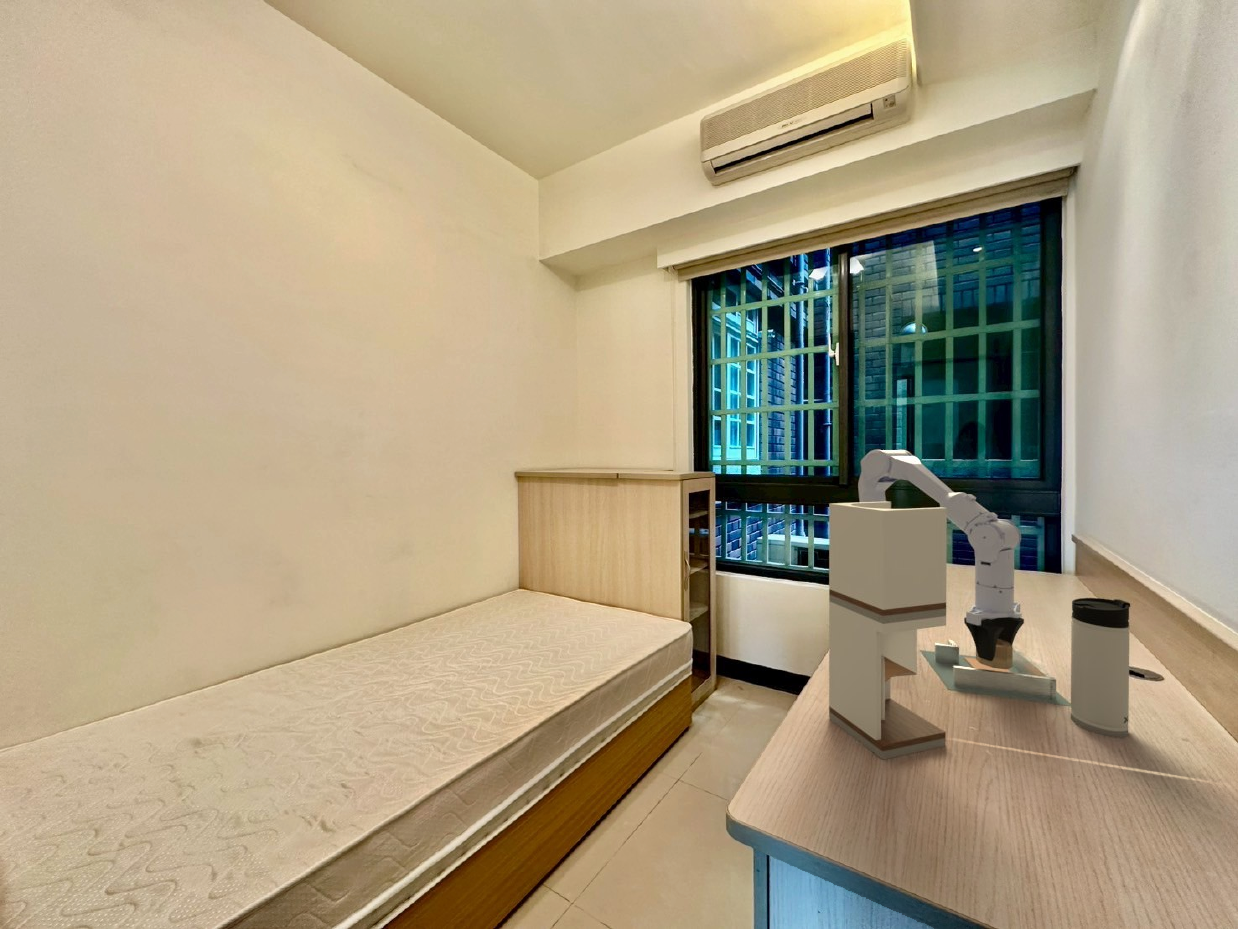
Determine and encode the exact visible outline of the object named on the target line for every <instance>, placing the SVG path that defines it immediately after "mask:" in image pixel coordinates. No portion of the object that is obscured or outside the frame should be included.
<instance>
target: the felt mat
mask: <svg viewBox="0 0 1238 929" xmlns="http://www.w3.org/2000/svg"><path fill="white" fill-rule="evenodd" d="M919 651H920V653H921V654H922V655H923V657H924V658H925V660H926V661H927V663H928V664H929V666H930V667H931V668H932V669H933V671H934V672H935V674H936V676H938V678H939V679H940V681H941V682H942V683H943V685H944V686H945V688H946V689H947V690H948V691H955V692H961V693H967V694H968V693H969V694H975V695H976V694H977V695H982V696H990V697H999V698H1006V699H1015V700H1019V701H1020V700H1021V701H1028V702H1033V703H1034V702H1037V703H1043V704H1049V705H1058V706H1064V707H1071V701H1070V702H1069V700H1067V699H1066V698H1065V697H1064V696H1063V695H1061V693H1059V692H1058V691H1057V690H1056V700H1053V699H1045V698H1038V697H1030V696H1023V695H1015V694H1008V693H1000V692H993V691H985V690H978V689H970V688H963V687H955V686H954V685H953V666H961V667H969V668H972V667H971V666H970V664H969V663H968V662H967V661H966V660H965V659H964V657H966V658H975V659H976V655H965V654H959V664H951V663H943V662H936V661H935V651H931V650H923V649H920V650H919ZM1008 670H1009V671H1010V672H1011V673H1019V674H1022V673H1021V672H1019V671H1018V670H1017V669H1016V668H1015V667H1014V666H1013V665H1012V668H1009V669H1008Z"/></svg>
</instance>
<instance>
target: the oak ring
mask: <svg viewBox="0 0 1238 929" xmlns="http://www.w3.org/2000/svg"><path fill="white" fill-rule="evenodd" d="M1013 646H1014V645H1013V644H1012V645H1011V644H1010V643H1009V642H1007V641H1004V640H1001V639H998V640H997V643H996V649H995V656H994V659H993V661H988V660H985V659H982V658H979V656H978V653H977V650H976V649H975V656H976V660H977V661H978V662H979V663H981V664H983V665H986V666H989V667H992V668H999V669H1009V668H1012V663H1013Z"/></svg>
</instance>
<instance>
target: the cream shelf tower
mask: <svg viewBox="0 0 1238 929" xmlns="http://www.w3.org/2000/svg"><path fill="white" fill-rule="evenodd" d="M828 511H829V513H828V514H829V515H828V518H829V520H828V522H829V527H828V528H829V530H828V531H829V532H828V533H829V534H828V538H829V539H828V542H829V543H828V548H829V549H828V551H829V556H828V559H829V561H828V563H829V564H828V566H829V568H828V570H829V571H828V572H829V573H828V576H829V577H828V578H829V579H828V580H829V581H828V585H829V586H828V588H829V589H828V593H829V594H828V595H829V598H828V603H829V604H828V606H829V607H828V608H829V610H828V615H829V616H828V621H829V622H828V623H829V625H828V628H829V630H828V632H829V635H828V651H829V652H828V657H829V658H828V660H829V661H828V665H829V666H828V668H829V669H828V672H829V673H828V674H829V675H828V676H829V677H828V691H829V692H828V706H829V707H828V719H829V718H830V719H831V720H830V719H829V720H830V721H831V722H833V721H834V722H835V723H834V722H833V723H834V724H836V726H838V727H839V726H840V729H842V730H843V729H844V730H843V731H844V732H846V731H847V732H848V733H847V732H846V733H847V734H849V735H850V736H851V737H852V736H853V738H854V739H855V740H857V742H859V741H860V742H861V743H862V744H861V743H860V742H859V743H860V744H861V745H863V746H864V747H865V746H866V749H867V750H870V751H871V752H872V753H873V752H874V753H875V754H874V753H873V754H874V755H876V756H877V757H879V758H880V759H881V760H883V759H884V760H888V759H891V758H897V757H901V756H905V755H906V756H907V755H910V754H915V753H919V752H924V751H928V750H929V751H930V750H933V749H937V748H943V747H946V744H947V743H946V740H947V739H946V738H947V734H946V733H947V732H946V731H944V730H943V729H942V728H940V727H938V726H937V725H935V724H933V723H932V722H930V721H928V720H927V719H925V718H923V717H922V716H920V715H918V714H917V713H915V712H913V711H912V710H910V709H908V708H907V707H905V706H904V705H902V704H900V703H898V702H897V701H896V700H894V699H892V698H891V679H892V678H895V677H905V676H916V675H918V670H917V669H918V663H917V662H918V644H917V643H918V630H921V629H923V630H924V629H931V628H937V627H945V626H946V627H947V562H948V561H947V547H948V546H947V545H948V543H947V538H948V537H947V534H948V533H947V531H948V529H947V528H948V527H947V525H948V524H947V523H948V521H947V519H948V518H947V508H942V507H940V506H939V507H920V508H919V507H918V508H892V501H887V500H886V501H885V502H860V501H859V502H837V503H835V502H834V503H829V509H828Z"/></svg>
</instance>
